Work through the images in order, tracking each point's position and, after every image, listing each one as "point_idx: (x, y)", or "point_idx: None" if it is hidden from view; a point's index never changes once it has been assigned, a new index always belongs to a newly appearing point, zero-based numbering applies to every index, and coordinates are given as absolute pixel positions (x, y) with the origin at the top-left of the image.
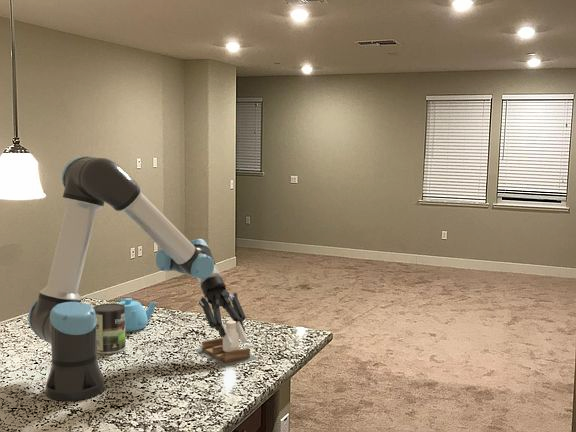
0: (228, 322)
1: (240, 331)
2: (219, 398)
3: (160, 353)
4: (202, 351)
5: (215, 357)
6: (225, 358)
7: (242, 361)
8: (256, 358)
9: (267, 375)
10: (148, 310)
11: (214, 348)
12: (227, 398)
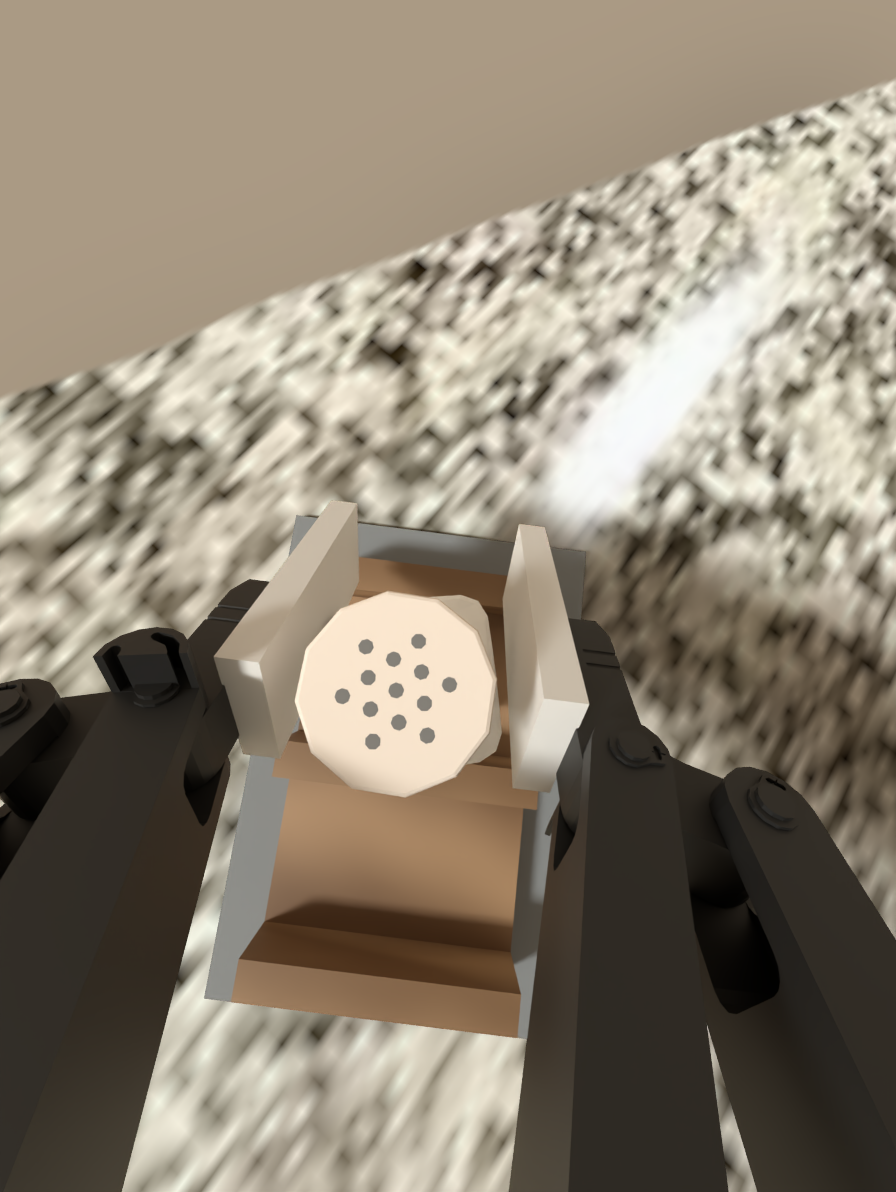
0: (458, 697)
1: (321, 591)
2: (839, 247)
3: None
4: (516, 942)
5: None
6: None
7: (422, 547)
8: (309, 527)
9: (449, 300)
10: None
11: None
12: (806, 223)
